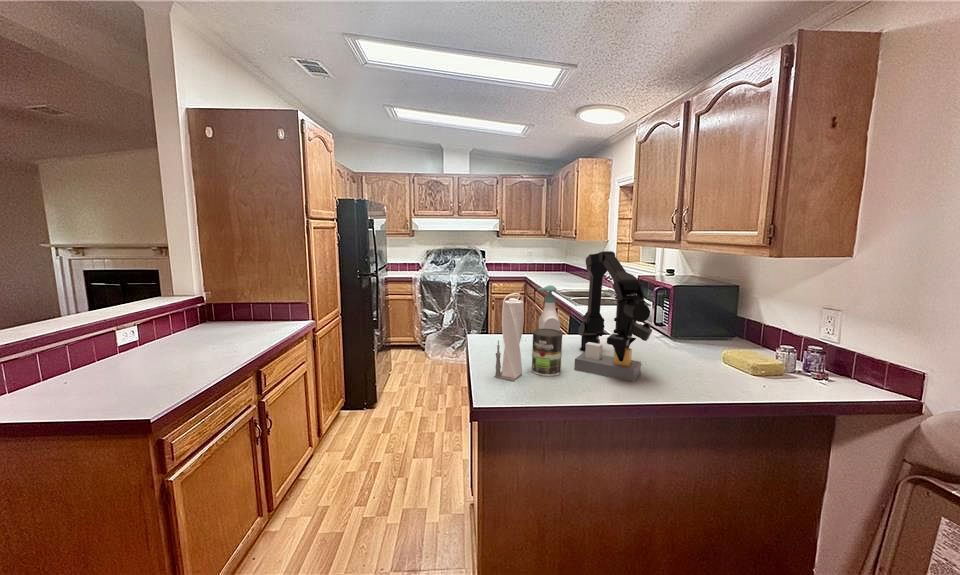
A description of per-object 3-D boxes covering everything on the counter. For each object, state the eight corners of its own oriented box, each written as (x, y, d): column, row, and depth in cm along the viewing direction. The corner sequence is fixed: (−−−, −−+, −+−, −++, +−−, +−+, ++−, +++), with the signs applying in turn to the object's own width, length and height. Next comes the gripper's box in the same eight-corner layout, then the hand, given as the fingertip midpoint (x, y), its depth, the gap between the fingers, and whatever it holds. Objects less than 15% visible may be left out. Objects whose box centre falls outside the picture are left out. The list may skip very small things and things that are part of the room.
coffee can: (556, 378, 131) (557, 337, 129) (527, 373, 136) (528, 333, 134) (564, 369, 140) (566, 330, 138) (537, 364, 145) (538, 327, 143)
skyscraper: (505, 369, 139) (506, 291, 135) (526, 374, 135) (528, 293, 131) (494, 377, 132) (495, 295, 128) (516, 382, 128) (517, 297, 124)
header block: (574, 369, 139) (574, 358, 139) (584, 361, 147) (584, 351, 147) (633, 382, 128) (633, 370, 127) (640, 373, 136) (641, 361, 136)
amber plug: (613, 370, 135) (614, 348, 134) (615, 368, 137) (616, 346, 136) (628, 373, 132) (629, 350, 131) (630, 371, 135) (631, 348, 133)
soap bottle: (533, 348, 164) (535, 283, 160) (553, 348, 164) (555, 283, 160) (538, 357, 153) (539, 287, 149) (559, 357, 153) (561, 287, 149)
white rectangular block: (584, 365, 140) (585, 343, 139) (587, 363, 143) (588, 341, 142) (598, 368, 138) (599, 346, 137) (601, 365, 140) (602, 344, 139)
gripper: (644, 323, 120) (640, 372, 122) (656, 313, 135) (653, 357, 137) (607, 319, 126) (604, 365, 128) (623, 309, 141) (620, 351, 143)
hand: (622, 359), depth 134 cm, fingers closed on amber plug, 3 cm apart
